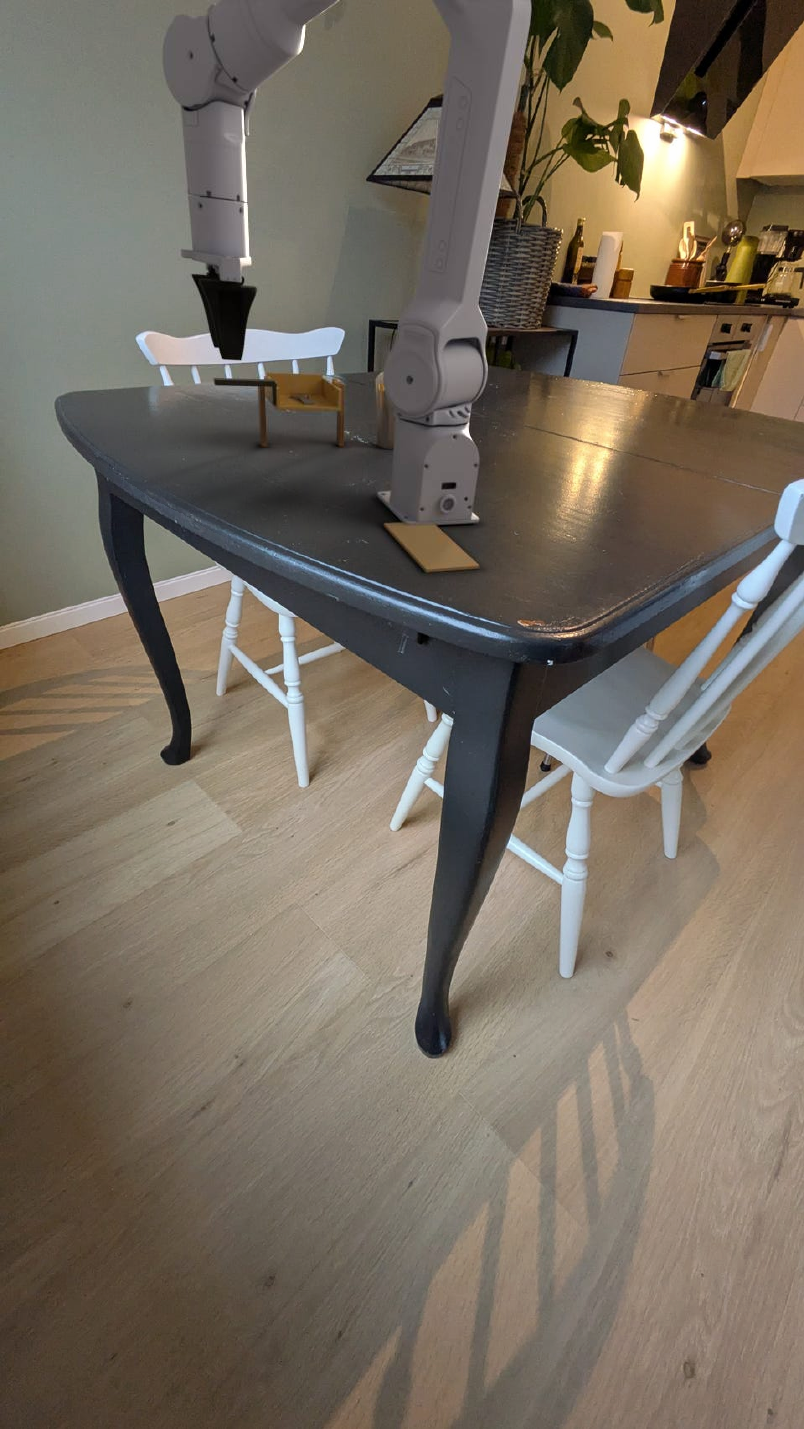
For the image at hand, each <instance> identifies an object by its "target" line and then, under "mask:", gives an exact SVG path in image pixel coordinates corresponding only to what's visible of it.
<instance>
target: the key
mask: <svg viewBox="0 0 804 1429" xmlns="http://www.w3.org/2000/svg"><path fill="white" fill-rule="evenodd" d="M290 398H292V399H297V400H299V401H300V402H301V403H302V404H304V405H314V401H313V400H310V399H309V395H308V394H305V393H291V394H290Z"/></svg>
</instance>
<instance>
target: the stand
mask: <svg viewBox="0 0 804 1429" xmlns="http://www.w3.org/2000/svg"><path fill="white" fill-rule="evenodd" d="M338 388H339V389H341V411H336V435H335V436H336V438H335V439H336V441H335V442H336V443H335V444H336V445H338V447H345V444H344V442H345V410H346V408H345V405H346V404H345V403H346V384H345V383H344V382H343V381H338ZM257 402H258V422H259V441H260V442H259V443H260V445H261V447H263V448H267V447H268V435H267V434H268V431H267V413H266V412H267V410H266V408H267V407H266V397H265V387H260V386H257Z"/></svg>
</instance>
